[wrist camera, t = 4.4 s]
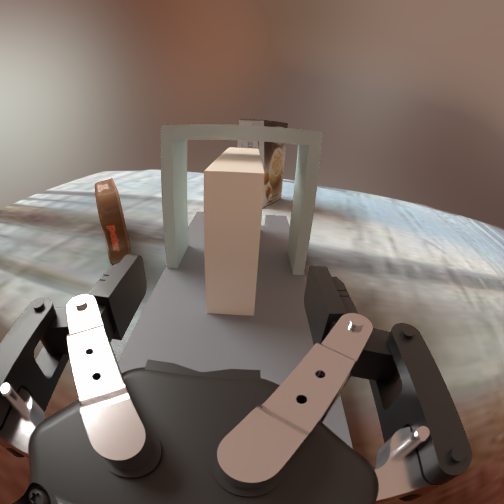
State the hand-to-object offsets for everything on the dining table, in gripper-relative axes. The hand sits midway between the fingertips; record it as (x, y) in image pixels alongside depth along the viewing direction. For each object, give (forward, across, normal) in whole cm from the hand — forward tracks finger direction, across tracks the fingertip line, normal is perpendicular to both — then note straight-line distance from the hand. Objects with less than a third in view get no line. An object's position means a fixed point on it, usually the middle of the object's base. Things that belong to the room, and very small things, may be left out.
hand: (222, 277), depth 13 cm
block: (+13, 0, +6) cm, 14 cm away
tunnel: (+13, 0, +6) cm, 14 cm away
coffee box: (+42, -3, +8) cm, 43 cm away
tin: (+18, +16, +8) cm, 25 cm away
